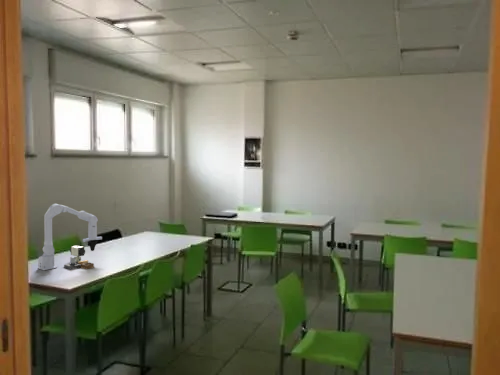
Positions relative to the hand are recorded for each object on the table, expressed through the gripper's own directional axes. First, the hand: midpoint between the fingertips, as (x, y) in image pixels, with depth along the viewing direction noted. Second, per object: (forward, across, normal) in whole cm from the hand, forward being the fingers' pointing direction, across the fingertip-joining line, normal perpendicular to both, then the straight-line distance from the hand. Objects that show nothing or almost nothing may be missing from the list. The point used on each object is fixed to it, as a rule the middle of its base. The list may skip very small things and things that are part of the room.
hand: (92, 250), depth 305 cm
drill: (+9, -15, 0) cm, 18 cm away
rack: (+9, -9, -8) cm, 15 cm away
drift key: (+9, -8, 0) cm, 12 cm away
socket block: (+9, -15, 0) cm, 18 cm away
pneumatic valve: (+10, -3, +14) cm, 17 cm away
